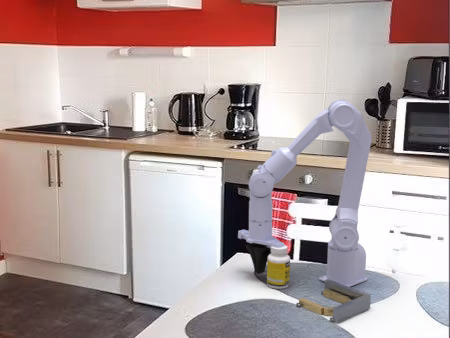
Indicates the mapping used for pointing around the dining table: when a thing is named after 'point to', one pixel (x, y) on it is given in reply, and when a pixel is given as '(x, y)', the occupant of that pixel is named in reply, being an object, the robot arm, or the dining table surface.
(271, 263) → the supplement bottle
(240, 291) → the dining table surface
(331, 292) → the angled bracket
